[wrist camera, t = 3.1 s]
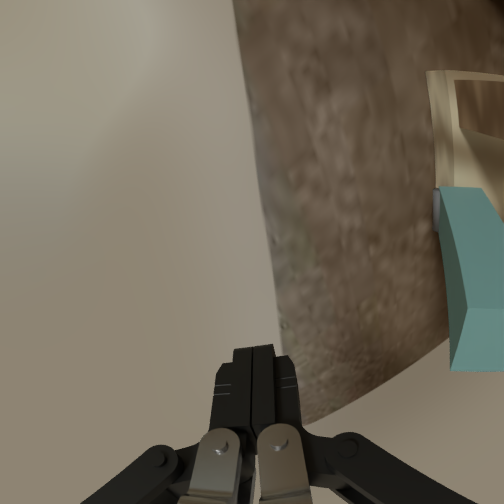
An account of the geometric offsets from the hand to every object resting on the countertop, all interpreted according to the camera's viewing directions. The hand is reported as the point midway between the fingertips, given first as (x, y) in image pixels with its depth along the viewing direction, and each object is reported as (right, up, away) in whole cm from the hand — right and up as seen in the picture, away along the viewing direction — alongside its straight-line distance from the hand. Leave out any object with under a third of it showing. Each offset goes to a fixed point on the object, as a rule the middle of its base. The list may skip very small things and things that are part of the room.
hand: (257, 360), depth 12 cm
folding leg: (+16, +8, +8) cm, 20 cm away
